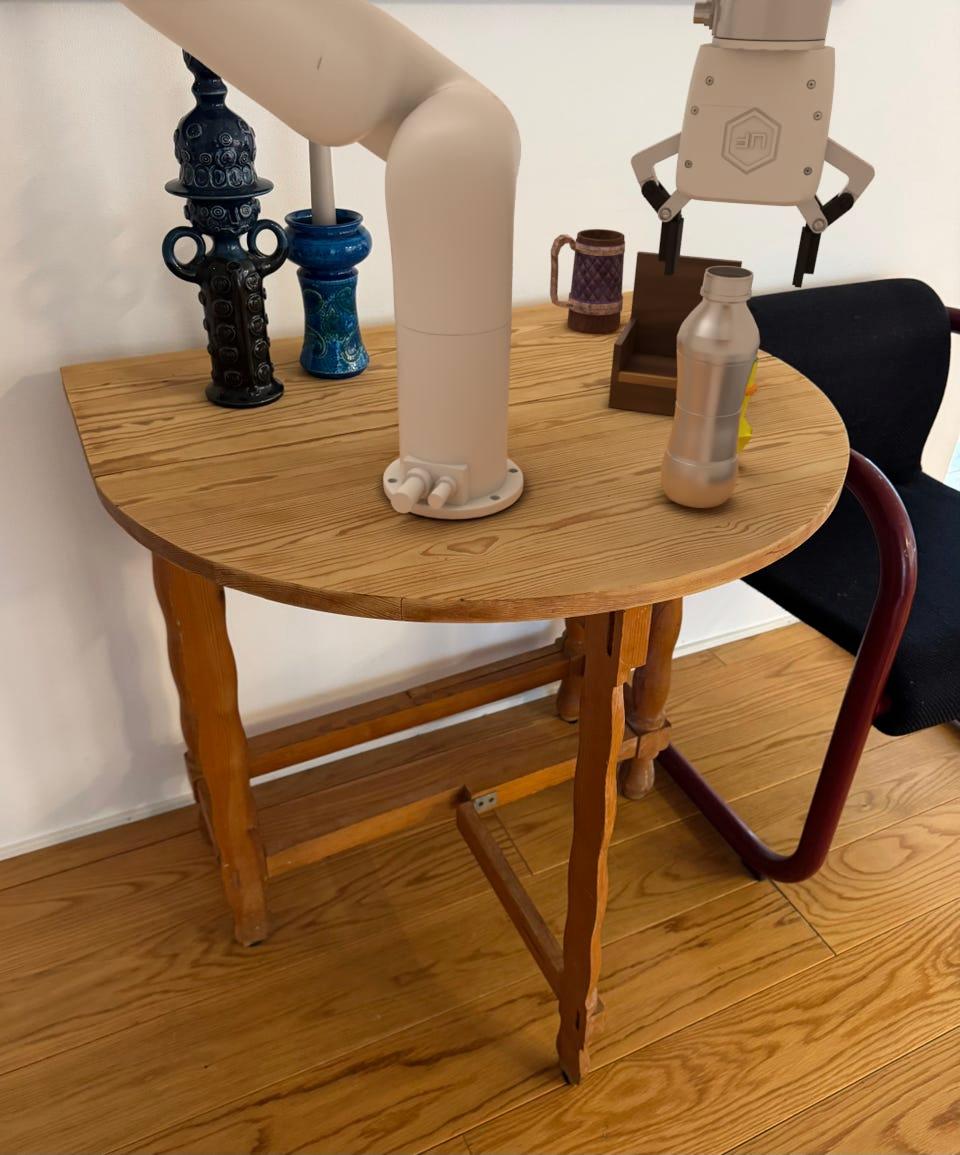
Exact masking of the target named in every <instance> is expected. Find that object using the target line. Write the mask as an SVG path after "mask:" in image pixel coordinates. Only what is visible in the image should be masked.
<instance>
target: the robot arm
mask: <svg viewBox="0 0 960 1155" xmlns="http://www.w3.org/2000/svg"><path fill="white" fill-rule="evenodd" d="M117 1H118V2H119V3H120V4H122V5H123V6H124V7H125V8H126V9H128V10H129V11H130V12H132V13H133V14H134V15H135V16H137V17H138V18H139V19H140V20H141V21H143V22H144V23H146V25H148V26H150V27H151V28H153V29H154V30H155V31H157V32H158V33H160V34H161V35H163V36H164V37H165V38H166V39H168V40H169V41H171V42H172V43H174V44H175V45H176V46H178V47H180V48H181V49H182V50H184V51H185V52H187V53H188V54H189V55H190V56H192V57H194V58H195V59H196V60H198V61H199V62H200V63H202V64H203V66H205V67H206V68H207V69H209V70H210V71H211V72H213V73H214V74H215V75H217V77H220V78H221V79H222V80H224V81H225V82H227V83H228V84H229V85H231V86H232V87H234V88H235V89H236V90H238V91H240V93H242V94H243V95H245V96H246V97H248V98H249V99H251V100H252V101H254V102H255V103H256V104H258V105H259V106H261V107H262V108H263V109H265V110H266V111H268V112H269V113H270V114H272V115H273V116H274V117H275V118H277V119H278V120H279V121H281V122H282V123H284V124H285V126H287V127H288V128H290V129H291V130H292V131H294V132H295V133H297V134H298V135H300V136H301V137H303V138H304V139H306V140H307V141H309V142H310V143H313V144H317V145H319V146H324V147H327V148H341V147H347V146H349V145H353V144H355V143H358V144H359V145H361V146H362V147H363V148H365V149H366V150H368V151H369V152H370V153H371V154H373V155H375V156H376V157H377V158H379V159H380V160H382V161H383V162H385V163H386V164H385V170H384V198H385V199H384V201H385V208H386V209H385V211H386V219H387V227H388V235H389V245H390V253H391V254H390V255H391V256H390V257H391V268H392V271H391V272H392V288H393V290H392V291H393V311H394V312H393V314H394V315H393V316H394V329H395V356H396V357H395V359H396V387H397V389H396V390H397V414H398V416H397V418H398V444H399V446H398V447H399V457H397V458H396V459H395V460H394V461H392V462H391V463H390V464H389V465H388V466H387V467H386V469H385V471H384V473H383V478H382V480H383V481H382V482H383V483H382V484H383V491H384V494H385V495H386V497H387V498H388V500H389V501H390V505H391V507H392V509H393V510H395V511H396V512H397V513H401V514H408V513H412V514H414V515H418V516H422V517H426V518H433V519H438V520H467V519H475V518H482V517H486V516H489V515H493V514H496V513H498V512H501V511H503V510H505V509H507V508H508V507H510V506H512V505H513V504H514V503H516V501H517V500H518V499H520V496H522V493H523V490H524V474H523V472H522V469H521V468H520V467H519V466H518V464H517V463H515V462H514V461H512V460H511V459H510V458H509V457H508V443H509V442H508V438H509V409H510V408H509V407H510V404H509V403H510V379H511V378H510V377H511V349H512V304H513V303H512V302H513V272H514V271H513V270H514V236H515V235H514V232H515V231H514V230H515V224H514V223H515V209H516V195H517V193H516V192H517V181H518V176H519V169H520V166H521V158H522V157H521V156H522V142H521V141H522V140H521V135H520V131H519V127H518V124H517V122H516V120H515V116H514V115H513V114H512V112H511V110H510V109H509V107H508V106H507V105H506V104H505V103H504V101H503V100H502V99H501V98H500V97H499V96H498V95H496V94H495V93H494V92H493V91H492V90H491V89H490V88H488V87H487V86H486V85H484V84H483V83H482V82H480V81H479V80H477V79H476V78H475V77H474V76H472V75H471V74H470V73H468V72H467V71H465V70H464V69H463V68H462V67H461V66H459V65H458V64H456V63H455V62H453V60H451V59H450V58H449V57H447V56H446V55H445V54H443V53H442V52H440V51H439V50H438V49H437V48H435V47H434V46H433V45H431V44H430V43H429V42H427V41H426V40H425V39H423V38H422V37H420V35H418V34H417V33H415V32H414V31H413V30H412V29H410V28H409V27H408V26H406V25H405V24H403V23H402V22H401V21H399V20H398V19H397V18H395V17H393V15H391V14H390V13H388V12H387V11H385V10H384V9H381V8H380V7H379V6H376V5H374V4H373V3H370V2H368V1H366V0H117ZM832 6H833V0H706V1H695V4H694V7H693V8H694V9H693V15H692V16H693V18H692V23H693V25H694V24H695V25H703V26H704V27H708V30H710V31H711V36H712V40H711V42H708V43H703V44H700V45H699V48H698V52H697V55H696V58H695V61H694V66H693V69H692V73H691V77H690V82H689V87H688V91H687V97H686V103H685V107H684V114H683V119H682V126H681V130H680V131H679V132H677V133H675V134H672V135H670V136H669V137H668V136H667V137H666V138H665V139H662V140H660V141H658V142H656V143H654V144H652V145H650V146H648V147H645V148H643V149H642V150H640V151H638V152H636V153H635V154H634V155H633V156H632V157H631V159H630V165H631V167H632V170H633V173H634V175H635V178H636V180H637V183H638V185H639V187H640V193H641V195H642V197H643V198H644V199H645V200H646V201H647V203H648V204H649V205H650V207H651V208H652V209H653V210H654V211H655V213H656V214H657V217H658V219H659V221H661V225H660V226H661V227H660V236H659V243H658V244H659V246H658V253H659V254H658V261H662V262H665V271H664V276H671V275H674V273H675V272H676V270H677V268H678V266H679V259H680V255H681V248H682V240H683V233H684V221H685V218H684V217H683V214H682V209H683V208H684V207H685V206H687V205H688V203H690V201H691V200H694V201H702V202H712V203H713V202H714V203H728V204H739V205H740V204H743V205H756V206H757V205H759V206H773V207H796V208H797V210H798V211H799V212H800V214H801V216H802V218H803V219H804V221H805V226H802V227H801V233H800V238H799V244H798V250H797V255H796V260H795V266H794V270H793V271H794V272H793V275H792V283H791V285H792V286H794V288H799V289H800V288H802V286H803V281H804V275H814V274H815V268H816V264H817V258H818V253H819V248H820V243H821V239H822V233H824V232H825V231H826V230H827V229H828V228H829V227H830V226H831V225H832V224H834V223H835V222H836V221H837V220H838V219H840V218H841V217H843V216H844V215H845V214H846V213H847V212H849V211H850V210H851V209H852V208H853V207H854V205H855V203H856V202H857V201H858V199H859V198H860V197H861V196H862V194H863V193H864V192H865V190H866V189H867V188H868V186H869V185H870V184H871V182H872V181H873V179H874V178H875V176H876V175H875V174H876V171H875V168H874V166H873V165H872V164H870V163H869V162H868V161H866V160H864V159H863V158H861V157H860V156H858V155H856V154H855V153H854V152H852V151H851V150H849V149H847V148H846V147H844V146H843V145H841V144H840V143H839V142H837V141H835V140H833V138H831V137H830V136H829V133H830V132H829V131H830V125H831V117H832V112H833V111H832V109H833V102H834V92H835V80H836V79H835V78H836V49H835V48H834V47H833V46H829V45H826V40H827V33H828V27H829V22H830V17H831V11H832ZM676 155H677V158H676V159H677V160H676V167H675V168H676V170H675V187H676V189H675V190H674V192H672V193H671V194H670V192H668V190H667V189H666V187H665V186H664V185H663V184H662V183H661V181H660V180H659V179H658V176H657V174H656V173H657V172H656V171H655V165H656V164H659V163H660V162H662V161H665V160H666V159H669V158H670V157H673V156H676ZM825 162H826V163H827V164H829V165H830V166H832V167H834V168H836V169H837V170H838V171H840V173H843V174H845V175H846V176H847V178H848V180H847V182H846V183H845V184H844V186H843V187H842V189H841V191H840V192H838V193H837V194H836V195H835V196H833V197H832V198H830V199H829V200H828V201H827V202H825V203H824V204H823V203H822V201H821V199H820V198H819V196H818V194H817V192H818V190H819V187H820V183H821V180H822V174H823V171H824V170H823V169H824V165H825Z"/></svg>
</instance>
